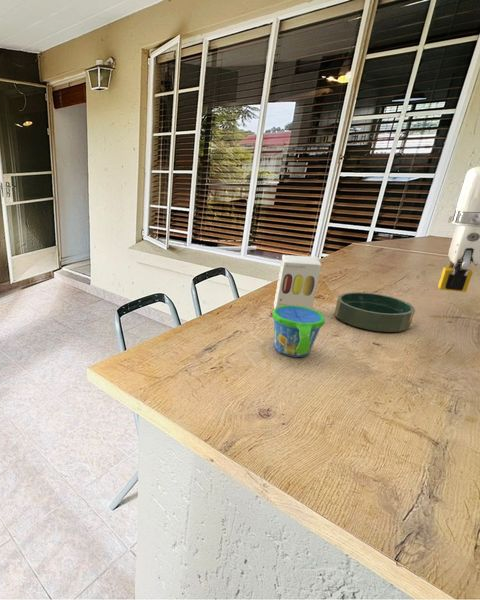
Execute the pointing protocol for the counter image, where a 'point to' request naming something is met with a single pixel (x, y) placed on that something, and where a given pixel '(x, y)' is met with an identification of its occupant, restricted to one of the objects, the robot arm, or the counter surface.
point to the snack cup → (296, 329)
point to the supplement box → (297, 281)
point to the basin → (374, 312)
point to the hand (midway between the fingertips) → (452, 286)
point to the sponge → (444, 279)
